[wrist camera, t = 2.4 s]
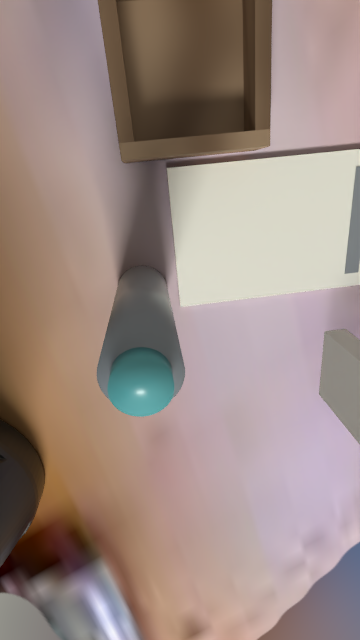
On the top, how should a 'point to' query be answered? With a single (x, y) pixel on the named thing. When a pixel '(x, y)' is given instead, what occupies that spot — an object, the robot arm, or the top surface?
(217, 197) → the paper
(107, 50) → the tray
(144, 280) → the marker
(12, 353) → the top surface
